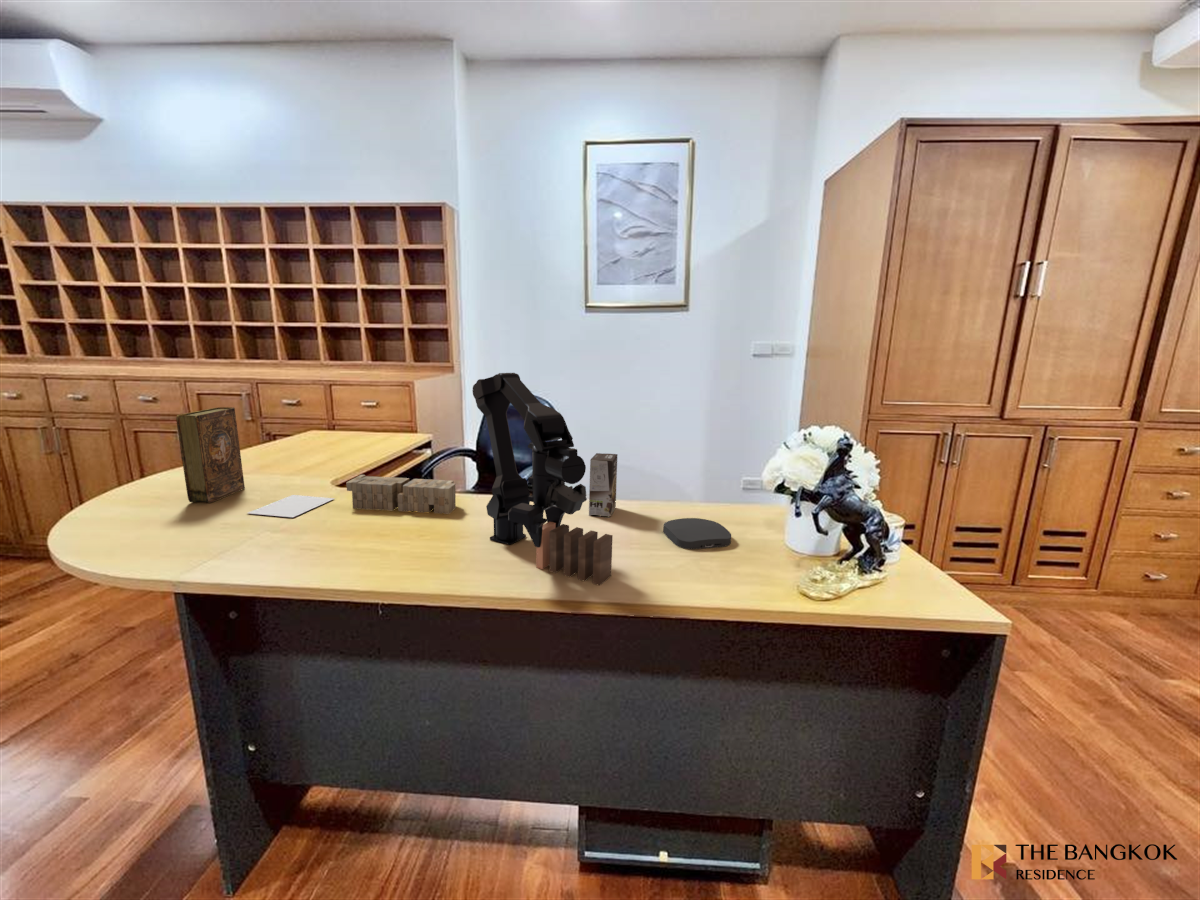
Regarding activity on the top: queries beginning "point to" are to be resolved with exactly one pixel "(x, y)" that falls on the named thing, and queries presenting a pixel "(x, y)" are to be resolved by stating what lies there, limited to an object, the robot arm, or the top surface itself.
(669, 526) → the media streaming box
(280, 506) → the paper stack
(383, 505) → the block tower
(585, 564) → the walnut domino
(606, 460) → the coffee box
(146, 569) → the top surface
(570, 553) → the walnut domino
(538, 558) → the terracotta domino
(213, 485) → the book
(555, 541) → the walnut domino
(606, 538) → the walnut domino
